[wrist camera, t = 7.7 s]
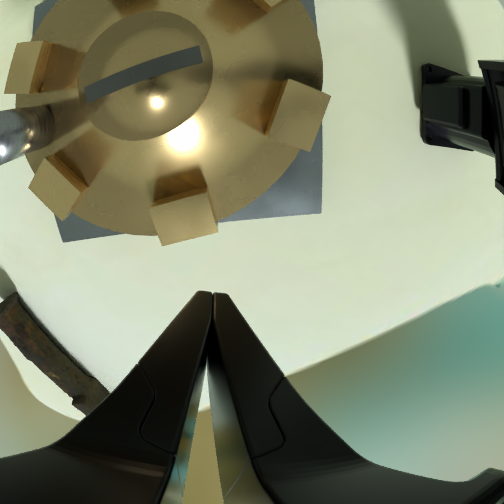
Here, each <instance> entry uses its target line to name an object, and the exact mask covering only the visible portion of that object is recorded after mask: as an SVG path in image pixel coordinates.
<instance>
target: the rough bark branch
mask: <svg viewBox="0 0 504 504" xmlns="http://www.w3.org/2000/svg"><path fill="white" fill-rule="evenodd" d="M0 329H1V330H2V331H3V332H4V333H5V334H6V335H7V336H8V337H9V339H10V340H11V341H12V342H13V343H14V345H15V346H16V347H17V348H18V349H19V350H20V351H21V353H22V354H23V355H24V356H25V357H26V359H28V360H30V361H32V362H33V363H34V364H35V365H36V366H37V367H38V368H39V369H40V370H41V371H42V372H43V373H44V374H45V375H47V376H48V377H49V378H50V379H51V380H52V381H53V382H54V383H55V384H56V385H58V386H59V387H60V388H61V389H62V390H63V391H64V392H65V393H67V394H68V395H69V397H72V398H73V401H72V405H73V406H74V407H76V408H77V409H78V410H80V411H81V412H83V413H84V414H85V415H86V416H87V415H88V414H89V413H90V412H91V411H92V410H93V409H94V408H95V407H97V406H98V405H99V404H100V403H101V402H102V401H103V400H104V399H105V398H106V397H107V396H108V395H109V394H110V393H109V392H108V391H107V390H106V389H105V388H104V387H103V386H102V385H101V383H100V382H99V381H98V380H97V379H95V378H94V377H90V376H87V375H86V374H84V373H83V372H82V371H81V370H80V369H78V368H77V366H76V365H75V364H74V363H72V362H71V361H70V359H69V358H68V357H67V356H66V355H64V354H63V353H62V352H61V351H60V350H59V349H58V348H57V347H56V346H55V345H54V344H53V343H52V341H51V340H50V339H49V338H48V337H47V336H46V335H45V334H44V332H43V331H42V330H41V329H40V328H39V327H38V326H37V324H36V323H35V322H34V321H33V319H32V318H31V317H30V316H29V314H28V313H27V312H26V311H25V310H24V309H23V308H22V307H21V305H20V304H19V302H18V293H17V292H15V293H13V294H12V295H10V296H8V297H7V298H6V299H5V300H4V301H2V302H1V303H0Z"/></svg>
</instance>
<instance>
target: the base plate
mask: <svg viewBox="0 0 504 504" xmlns="http://www.w3.org/2000/svg"><path fill="white" fill-rule="evenodd" d="M57 1H58V0H47V1H45V2H43V3H41V4H39V5H37V6H36V7H35V12H34V22H33V35H34V33H35V32H36V30H37V28H38V27H39V25H40V23H41V22H42V20H43V19H44V17H45V16H46V15H47V13H48V12H49V11H50V10H51V8H52V7H53V6H54V5H55V3H56V2H57ZM300 1H301V2H302V3H303V5H304V6H305V8H306V10H307V12H308V14H309V16H310V18H311V20H312V22H313V24H314V27H315V30H316V33H317V25H316V15H315V6H314V0H300ZM32 37H33V36H32ZM321 206H322V122H321V125H320V127H319V130H318V133H317V135H316V138H315V141H314V143H313V146H312V149H311V151H310V152H308V151H305V150H303V149H300V151H299V153H298V154H297V156H296V158H295V159H294V161H293V162H292V163H291V164H290V166H289V167H288V168H287V169H286V171H285V172H284V173H283V174H282V176H281V177H280V178H279V179H278V180H277V181H276V182H275V183H274V184H273V185H272V186H271V187H270V188H269V189H268V190H266V191H265V192H264V193H263V194H262V195H260V196H259V197H258V198H256V199H255V200H254V201H253V202H251V203H250V204H249V205H247V206H245V207H244V208H242V209H240V210H239V211H237V212H235V213H234V214H232V215H230V216H228V217H226V218H224V219H222V220H219V221H217V222H228V221H238V220H248V219H259V218H270V217H281V216H293V215H306V214H319V213H321ZM54 215H55V214H54ZM55 219H56V222H57V225H58V229H59V232H60V235H61V238H62V241H63V243H64V242H70V241H77V240H83V239H90V238H97V237H104V236H111V235H118V234H126V233H121V232H115V231H112V230H109V229H105V228H102V227H99V226H96V225H94V224H92V223H90V222H88V221H86V220H84V219H82V218H80V217H78V216H77V215H75V214H74V213H71V214H70V215H69V216H68V217H67V218H66V219H64V220H63V221H61V220H60V219H59V218H58V217H57V216H56V215H55Z"/></svg>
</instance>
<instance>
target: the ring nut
mask: <svg viewBox="0 0 504 504" xmlns="http://www.w3.org/2000/svg"><path fill="white" fill-rule="evenodd" d="M322 84H323V61H322V54H321V48H320V42H319V39H318V36H317V33H316V30H315V27H314V24H313V22H312V20H311V18H310V16H309V14H308V12H307V10H306V8H305V6H304V5H303V3H302V2H301V1H300V0H58V1H57V2H56V3H55V5H54V6H53V7H52V8H51V10H50V11H49V12H48V13H47V15H46V16H45V17H44V19H43V20H42V22H41V23H40V25H39V27H38V28H37V30H36V32H35V33H34V35H33V37H32V39H31V42H22V43H17V45H16V48H15V52H14V55H13V59H12V62H11V66H10V70H9V74H8V78H7V82H6V87H5V91H4V94H16V109H10V110H4V111H0V165H2V164H4V163H6V162H9V161H11V160H14V159H16V158H19V157H21V156H24V155H25V156H26V158H27V160H28V162H29V164H30V166H31V168H32V170H33V172H34V174H35V176H34V177H33V179H32V181H31V183H30V185H29V187H28V188H29V189H30V190H31V191H32V192H33V193H34V194H35V195H36V196H37V197H38V198H39V199H40V200H41V201H42V202H43V203H44V204H45V205H46V206H47V207H48V208H49V209H50V210H51V211H52V212H53V213H54V214H55V215H56V216H57V217H58V218H59V219H60V220H61V221H63V220H64V219H66V218H67V217H68V216H69V215H70V214H71V213H74V214H75V215H77V216H78V217H80V218H82V219H84V220H86V221H88V222H90V223H92V224H94V225H96V226H99V227H102V228H105V229H109V230H112V231H115V232H121V233H126V234H132V235H148V236H155V235H158V237H159V239H160V242H161V245H162V246H165V245H169V244H173V243H177V242H181V241H185V240H189V239H193V238H197V237H201V236H205V235H209V234H213V233H217V232H218V222H217V221H219V220H222V219H224V218H226V217H228V216H230V215H232V214H234V213H235V212H237V211H239V210H240V209H242V208H244V207H245V206H247V205H249V204H250V203H251V202H253V201H254V200H255V199H256V198H258V197H259V196H260V195H262V194H263V193H264V192H265V191H266V190H268V189H269V188H270V187H271V186H272V185H273V184H274V183H275V182H276V181H277V180H278V179H279V178H280V177H281V176H282V174H283V173H284V172H285V171H286V169H287V168H288V167H289V166H290V164H291V163H292V162H293V161H294V159H295V158H296V156H297V154H298V153H299V151H300V149H303V150H305V151H308V152H310V151H311V149H312V146H313V143H314V141H315V138H316V135H317V133H318V130H319V127H320V125H321V122H322V119H323V117H324V114H325V111H326V108H327V106H328V103H329V100H330V97H331V96H330V95H328V94H326V93H323V92H321V91H322Z"/></svg>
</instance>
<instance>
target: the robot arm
mask: <svg viewBox="0 0 504 504" xmlns="http://www.w3.org/2000/svg"><path fill="white" fill-rule="evenodd" d="M478 64H479V67H480V68H481V70H482V74H483V77H475V76H464V75H461V74H458V73H456V72H453V71H450V70H447V69H445V68H442V67H439V66H436V65H432V64H428V63H427V64H423V65H422V83H423V128H422V140H423V142H424V143H425V144H428V145H435V146H442V147H449V148H456V149H462V150H468V151H474V150H475V151H478V152H480V153H483V154H486V155H489V156H491V157H494V158H495V163H496V179H495V187H496V188H497V189H498V190H499V191H500V192H501V193H502V194H503V195H504V60H478ZM427 68H428V69H429V72H428V70H427ZM428 136H429V140H428ZM206 363H207V376H208V387H209V397H210V406H211V415H212V424H213V432H214V440H215V448H216V455H217V462H218V469H219V476H220V483H221V488H222V495H223V500H224V504H504V471H502V470H497V469H494V468H488V469H486V470H484V471H483V472H481V473H480V474H478V475H476V476H475V477H473V478H471V479H470V480H468V481H464V482H450V481H442V480H437V479H432V478H426V477H423V476H418V475H414V474H410V473H406V472H402V471H398V470H394V469H391V468H387V467H384V466H380V465H377V464H375V463H373V462H371V461H369V460H367V459H365V458H363V457H362V456H361V455H359V454H358V453H357V452H355V451H354V450H353V449H352V448H351V447H350V446H349V445H348V444H347V443H346V442H344V440H343V439H341V438H340V437H339V436H338V435H337V434H336V433H335V432H334V431H333V430H332V429H331V428H330V427H329V426H328V425H327V424H326V423H325V422H324V421H323V420H322V419H321V418H320V417H319V416H318V415H317V414H316V413H315V412H314V410H313V409H312V408H311V407H310V406H309V405H308V404H307V403H306V402H305V401H304V399H303V398H302V397H301V396H300V394H299V393H298V392H297V391H296V389H295V388H294V387H293V385H292V384H291V383H290V382H289V380H288V379H287V377H284V373H283V372H282V371H281V369H280V368H279V367H278V365H277V364H276V362H275V361H274V360H273V358H272V357H271V355H270V354H269V353H268V351H267V350H266V348H265V347H264V346H263V344H262V343H261V341H260V340H259V339H258V337H257V336H256V334H255V333H254V332H253V330H252V329H251V327H250V326H249V324H248V323H247V321H246V320H245V319H244V317H243V316H242V314H241V313H240V311H239V310H238V308H237V307H236V305H235V304H234V303H233V301H232V300H231V298H230V297H229V295H228V294H226V293H217V292H215V293H213V295H212V293H211V292H208V291H197V292H196V293H195V295H194V296H193V297H192V298H191V299H190V301H189V302H188V303H187V304H186V305H185V306H184V308H183V309H182V310H181V311H180V312H179V314H178V315H177V316H176V317H175V318H174V320H173V321H172V322H171V323H170V324H169V326H168V327H167V328H166V329H165V330H164V332H163V333H162V334H161V335H160V336H159V338H158V339H157V340H156V341H155V342H154V344H153V345H152V346H151V347H150V348H149V350H148V351H147V352H146V353H145V354H144V356H143V357H142V358H141V359H140V360H139V362H138V364H136V365H135V366H134V368H133V369H132V370H131V371H130V372H129V374H128V375H127V376H126V377H125V378H124V379H123V380H122V382H121V383H120V384H119V385H118V386H117V387H116V388H115V389H114V390H113V391H112V392H111V393H110V394H109V395H108V396H107V397H106V398H105V399H104V400H103V401H102V402H101V403H100V404H99V405H98V406H97V407H95V408H94V409H93V410H92V411H91V412H90V413H89V414H88V415H87V416H86V417H85V418H83V419H82V420H81V421H80V422H79V423H78V424H77V425H76V426H75V427H74V428H73V429H71V430H70V432H68V433H67V434H66V435H65V436H63V437H62V438H61V439H59V440H58V441H56V442H54V443H52V444H50V445H48V446H46V447H43V448H40V449H36V450H32V451H28V452H24V453H20V454H17V455H12V456H8V457H3V458H0V504H182V498H183V493H184V487H185V481H186V475H187V468H188V462H189V458H190V452H191V446H192V440H193V435H194V429H195V423H196V418H197V413H198V408H199V402H200V397H201V392H202V386H203V381H204V376H205V370H206Z"/></svg>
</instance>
